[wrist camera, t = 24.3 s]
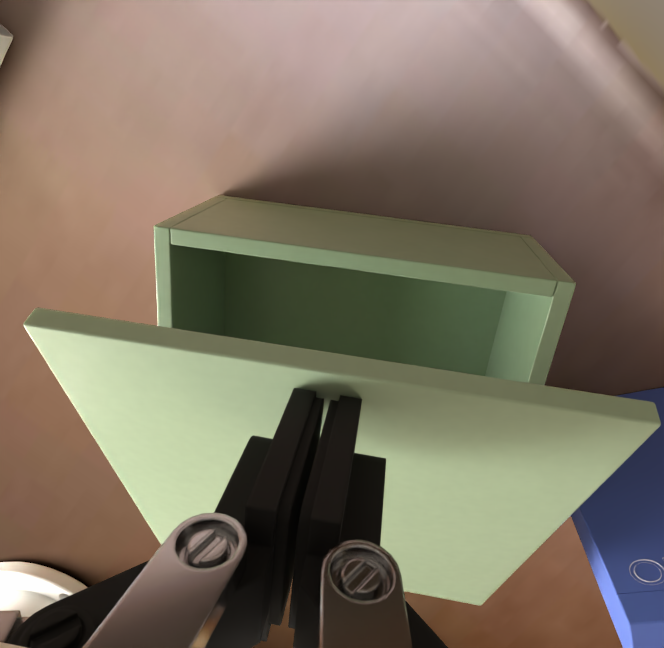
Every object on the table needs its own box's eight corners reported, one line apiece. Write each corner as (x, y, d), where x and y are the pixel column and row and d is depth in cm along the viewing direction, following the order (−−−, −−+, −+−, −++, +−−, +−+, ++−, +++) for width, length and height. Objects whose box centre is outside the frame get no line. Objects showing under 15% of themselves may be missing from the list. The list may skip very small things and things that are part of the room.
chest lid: (35, 305, 12) (21, 324, 12) (656, 401, 11) (663, 425, 10) (165, 531, 23) (160, 544, 23) (480, 590, 22) (481, 606, 22)
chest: (218, 194, 23) (153, 225, 17) (531, 234, 22) (577, 283, 16) (216, 444, 29) (166, 532, 23) (464, 487, 28) (480, 591, 22)
